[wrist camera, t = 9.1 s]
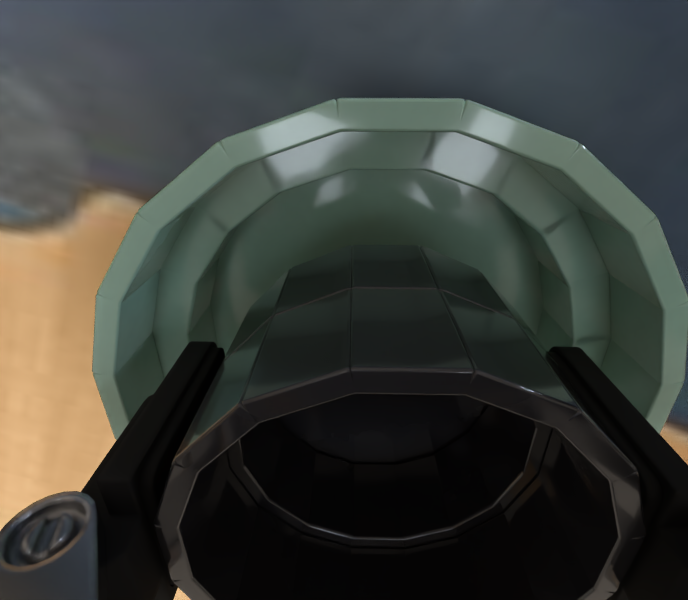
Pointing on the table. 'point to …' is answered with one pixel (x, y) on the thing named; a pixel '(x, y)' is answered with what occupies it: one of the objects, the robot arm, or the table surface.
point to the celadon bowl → (396, 238)
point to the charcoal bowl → (395, 449)
